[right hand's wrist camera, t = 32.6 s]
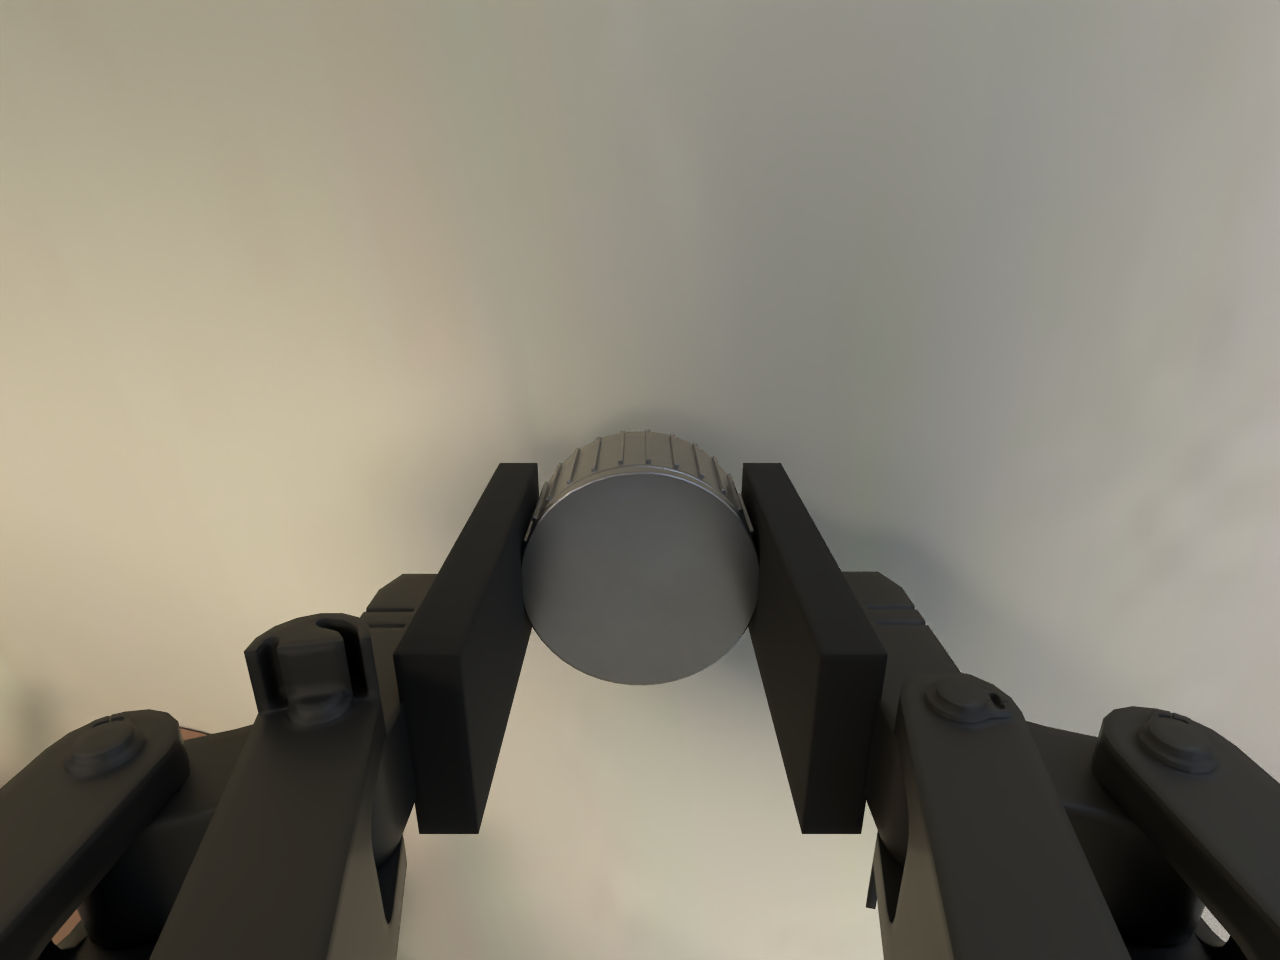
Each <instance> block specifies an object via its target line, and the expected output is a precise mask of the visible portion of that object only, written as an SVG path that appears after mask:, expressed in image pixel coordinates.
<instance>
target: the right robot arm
mask: <svg viewBox="0 0 1280 960" xmlns="http://www.w3.org/2000/svg"><path fill="white" fill-rule="evenodd" d="M741 496H742V498H743V501H744V504H745V507H746V510H747V512H748V515H749V518H750V521H751V524H752V526H753V529H754V532H755V535H752V537H753V540H754V543H755V546H756V549H757V552H758V556H759V563H760V564H759V580H758V595H757V607H756V610H755V613H754V615H753V618H752V620H751V622H750V624H749V625H748V628H749V632H750V635H751V639H752V643H753V647H754V651H755V655H756V659H757V662H758V666H759V670H760V674H761V678H762V682H763V685H764V689H765V693H766V697H767V701H768V705H769V709H770V712H771V716H772V720H773V724H774V728H775V732H776V735H777V739H778V743H779V747H780V751H781V755H782V758H783V762H784V766H785V770H786V774H787V778H788V782H789V785H790V789H791V793H792V797H793V801H794V805H795V808H796V812H797V816H798V820H799V824H800V828H801V831H802V834H861V831H862V824H863V817H864V811H865V804H866V800H867V803H868V806H869V808H870V811H871V813H872V816H873V819H874V821H875V824H876V826H877V829H878V833H877V839H876V845H875V851H874V858H873V864H872V870H871V876H870V883H869V889H868V895H867V903H866V907H867V908H872V909H875V907H876V902H877V901H878V910H879V919H880V928H881V937H882V946H883V955H884V960H1280V784H1279V783H1278V782H1277V781H1276V780H1275V779H1274V778H1272V777H1271V776H1270V775H1269V774H1268V773H1267V772H1265V771H1264V770H1263V769H1262V768H1261V767H1260V766H1259V765H1257V764H1256V763H1255V762H1254V761H1253V760H1252V759H1250V758H1249V757H1248V756H1247V755H1246V754H1245V753H1243V752H1242V751H1241V750H1240V749H1239V748H1238V747H1237V746H1235V745H1234V744H1232V743H1231V742H1229V741H1228V740H1227V739H1225V738H1224V737H1222V736H1221V735H1219V734H1218V733H1217V732H1215V731H1214V730H1212V729H1210V728H1208V727H1206V726H1203V725H1201V724H1199V723H1197V722H1195V721H1193V720H1191V719H1189V718H1187V717H1185V716H1182V715H1179V714H1176V713H1170V712H1169V711H1164V710H1160V709H1154V708H1144V707H1134V706H1131V707H1126V708H1120V709H1115V710H1113V711H1112V712H1110V713H1109V714H1108V715H1107V716H1106V717H1105V718H1104V719H1103V722H1102V725H1101V729H1100V732H1099V736H1098V737H1094V736H1089V735H1084V734H1079V733H1075V732H1070V731H1065V730H1060V729H1055V728H1051V727H1046V726H1042V725H1039V724H1035V723H1031V722H1028V721H1025V719H1024V716H1023V714H1022V712H1021V711H1020V709H1019V708H1018V707H1017V705H1016V704H1015V703H1014V701H1013V700H1012V698H1011V697H1009V696H1008V695H1007V694H1005V693H1004V692H1003V691H1001V690H1000V689H998V688H997V687H996V686H994V685H993V684H990V683H988V682H986V681H984V680H981V679H979V678H977V677H974V676H972V675H968V674H964V673H961V672H960V671H959V669H958V668H957V666H956V665H955V663H954V662H953V660H952V659H951V658H950V656H949V655H948V653H947V652H946V650H945V649H944V648H943V646H942V645H941V643H940V642H939V640H938V639H937V638H936V636H935V635H934V633H933V632H932V630H931V629H930V628H929V626H928V625H925V620H924V619H923V617H922V616H921V615H920V613H919V612H918V610H915V608H914V605H913V603H912V602H911V600H910V599H909V597H908V596H907V595H906V593H905V592H904V590H903V589H902V587H900V586H899V585H897V584H896V583H894V582H893V581H891V580H890V579H888V578H887V577H885V576H884V575H882V574H881V573H879V572H841V570H840V568H839V566H838V565H837V563H836V561H835V559H834V557H833V556H832V554H831V552H830V550H829V549H828V547H827V545H826V543H825V541H824V540H823V538H822V536H821V534H820V532H819V531H818V529H817V527H816V525H815V524H814V522H813V520H812V518H811V516H810V515H809V513H808V511H807V509H806V508H805V506H804V504H803V502H802V500H801V499H800V497H799V495H798V493H797V491H796V490H795V488H794V486H793V484H792V483H791V481H790V479H789V477H788V475H787V474H786V472H785V470H784V468H783V466H782V465H781V463H743V476H742V494H741ZM538 500H539V485H538V467H537V463H500V464H499V466H498V467H497V469H496V471H495V473H494V474H493V476H492V478H491V480H490V482H489V483H488V485H487V487H486V489H485V491H484V492H483V494H482V496H481V498H480V499H479V501H478V503H477V505H476V507H475V508H474V510H473V512H472V514H471V516H470V517H469V519H468V521H467V523H466V524H465V526H464V528H463V530H462V532H461V533H460V535H459V537H458V539H457V541H456V542H455V544H454V546H453V548H452V549H451V551H450V553H449V555H448V557H447V558H446V560H445V562H444V564H443V566H442V567H441V569H440V571H439V573H438V574H402V575H401V576H399V577H398V578H396V579H395V580H393V581H392V582H390V583H389V584H387V585H386V586H384V587H383V588H381V589H380V590H379V591H378V592H377V594H376V595H375V597H374V598H373V600H372V601H371V602H370V604H369V605H368V607H367V608H366V612H364V613H363V614H362V615H361V617H360V618H359V617H355V616H351V615H347V614H343V613H320V614H315V615H310V616H305V617H300V618H296V619H293V620H290V621H288V622H285V623H282V624H280V625H277V626H275V627H273V628H271V629H270V630H268V631H266V632H265V633H263V634H262V635H260V636H258V637H257V638H255V640H254V641H253V642H252V643H251V644H250V645H249V646H248V647H247V649H246V650H245V651H244V654H245V658H246V663H247V667H248V671H249V675H250V679H251V684H252V688H253V692H254V696H255V700H256V704H257V709H258V715H257V718H256V720H255V722H254V724H253V725H249V726H246V727H242V728H239V729H235V730H230V731H225V732H221V733H216V734H211V735H206V736H201V737H197V738H192V739H187V740H183V737H182V734H181V730H180V727H179V723H178V721H177V720H176V719H174V718H173V717H172V716H171V715H170V714H169V713H166V712H161V711H155V710H150V709H148V710H138V711H128V712H122V713H118V714H113V715H112V716H106V717H103V718H100V719H97V720H95V721H93V722H91V723H89V724H87V725H85V726H83V727H81V728H79V729H76V730H74V731H72V732H70V733H68V734H67V735H66V736H64V737H63V738H61V739H60V740H58V741H57V742H56V743H54V744H53V745H51V746H50V747H48V748H47V749H46V750H44V751H43V752H42V753H41V754H40V755H39V756H38V757H36V758H35V759H34V760H33V761H32V762H31V763H30V764H28V765H27V766H26V767H25V768H24V769H23V770H21V771H20V772H19V773H18V774H17V775H16V776H15V777H13V778H12V779H11V780H10V781H9V782H8V783H7V784H5V785H4V786H3V787H2V788H1V789H0V960H396V956H397V948H398V939H399V930H400V921H401V912H402V903H403V894H404V885H405V876H406V867H407V859H406V852H405V845H404V839H403V831H404V829H405V826H406V824H407V821H408V818H409V816H410V813H411V810H412V808H413V805H414V803H415V808H416V814H417V821H418V828H419V834H478V833H479V829H480V826H481V822H482V818H483V814H484V810H485V806H486V803H487V799H488V795H489V791H490V787H491V783H492V779H493V776H494V772H495V768H496V764H497V760H498V756H499V753H500V749H501V745H502V741H503V737H504V733H505V729H506V726H507V722H508V718H509V714H510V710H511V706H512V703H513V699H514V695H515V691H516V687H517V683H518V680H519V676H520V672H521V668H522V664H523V660H524V656H525V653H526V649H527V645H528V641H529V637H530V633H531V630H532V625H531V623H530V621H529V619H528V617H527V615H526V612H525V609H524V602H523V588H522V573H521V558H522V554H523V550H524V546H525V544H524V539H525V536H526V533H527V531H528V528H529V525H530V522H531V519H532V516H533V514H534V511H535V508H536V505H537V502H538ZM1205 906H1206V907H1207V908H1208V910H1209V911H1210V912H1211V913H1212V914H1213V915H1214V917H1215V918H1216V919H1217V920H1218V921H1219V922H1220V924H1221V925H1222V926H1223V927H1224V928H1225V930H1226V931H1227V932H1228V933H1229V934H1230V937H1229V940H1228V941H1227V942H1224V941H1222V940H1221V939H1220V938H1219V937H1218V936H1217V935H1216V934H1215V933H1214V932H1213V931H1212V930H1211V929H1210V927H1209V926H1208V925H1207V924H1206V923H1205V921H1204V920H1203V919H1202V918H1201V915H1202V912H1203V910H1204V907H1205ZM76 909H77V911H78V913H79V916H80V918H81V920H80V921H79V922H78V924H77V925H76V926H75V927H74V928H73V930H72V931H71V932H70V933H69V934H68V935H67V936H66V937H65V938H64V939H63V940H62V941H60V942H59V943H58V944H57V945H55V944H54V943H53V941H52V938H53V937H54V936H55V934H56V933H57V932H58V931H59V930H60V928H61V927H62V926H63V925H64V924H65V923H66V921H67V920H68V919H69V918H70V917H71V915H72V914H73V913H74V912H75V911H76Z"/></svg>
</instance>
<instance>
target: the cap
mask: <svg viewBox="0 0 1280 960" xmlns="http://www.w3.org/2000/svg"><path fill="white" fill-rule="evenodd" d="M752 535H755V532H754V529H753V526H752V524H751V521H750V518H749V515H748V512H747V510H746V507H745V504H744V501H743V498H742V496H741V494H738V493H737V490H736V488H735V485H734V482H733V479H732V476H731V475H730V474H728V475H727V474H726V473H725V471H724V470H723V469H722V468H721V467H720V466H719V464H718V462H717V459H716V458H715V457H713V458H711V457H710V456H709V455H707V454H706V453H705V452H704V451H702V450H701V449H699V448H698V446H697V444H695V443H693V445H692V444H691V443H688V442H686V441H684V440H681V439H679V438H676V437H675V435H673V434H670V436H669V435H665V434H660V433H653V432H650V430H646V431H645V432H628V433H625V431H621V432H620V434H616V435H611V436H607V437H605V438H602V439H601V437H598V438H596V441H594V442H592V443H590V444H588V445H586V446H585V447H583V448H581V449H579V448H577V449H576V450H575V452H574V454H573V455H571V456H570V457H569V458H568V459H567V460H566V461H565V462H564V463H563V464H560V463H559V464H558V465H557V468H556V471H555V473H554V474H553V476H552V478H551V479H550V481H549V483H548V482H545V484H544V486H543V489H542V492H541V494H540V497H539V500H538V502H537V505H536V508H535V511H534V514H533V516H532V519H531V522H530V525H529V528H528V531H527V533H526V536H525V539H524V544H525V546H524V550H523V554H522V558H521V573H522V588H523V602H524V609H525V612H526V615H527V617H528V619H529V621H530V623H531V625H532V627H533V629H534V630H535V632H536V633H537V634H538V636H539V637H540V639H541V640H542V641H543V642H544V643H545V645H546V646H547V647H548V648H549V649H550V650H551V651H552V652H553V653H554V654H556V655H557V656H558V657H559V658H560V659H562V660H563V661H564V662H566V663H567V664H569V665H570V666H572V667H574V668H575V669H577V670H579V671H581V672H583V673H585V674H587V675H590V676H593V677H596V678H598V679H601V680H605V681H609V682H613V683H619V684H627V685H653V684H662V683H667V682H672V681H676V680H679V679H682V678H685V677H688V676H690V675H693V674H695V673H697V672H699V671H702V670H703V669H705V668H707V667H708V666H710V665H712V664H713V663H715V662H716V661H717V660H719V659H720V658H721V657H722V656H724V655H725V654H726V653H727V652H728V651H729V650H730V649H731V648H732V647H733V646H734V645H735V644H736V643H737V642H738V640H739V639H740V638H741V636H742V635H743V634H744V632H745V631H746V629H747V627H748V625H749V624H750V622H751V620H752V618H753V615H754V613H755V610H756V607H757V595H758V580H759V564H760V563H759V556H758V552H757V549H756V546H755V543H754V540H753V537H752Z"/></svg>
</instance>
